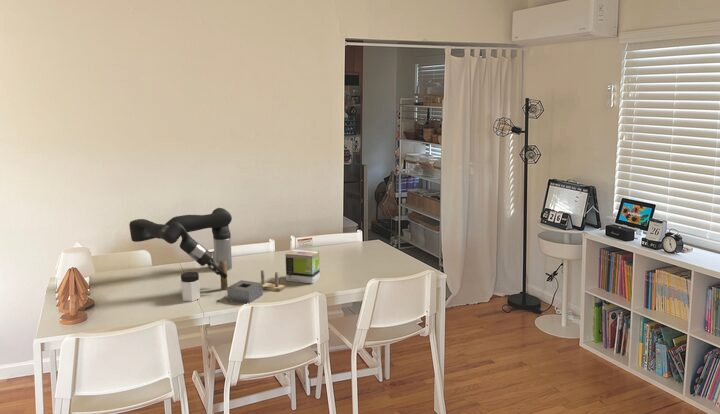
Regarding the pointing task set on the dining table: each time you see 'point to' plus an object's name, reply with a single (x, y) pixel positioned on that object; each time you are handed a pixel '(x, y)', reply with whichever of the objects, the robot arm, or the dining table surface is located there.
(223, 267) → the walnut pin
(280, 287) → the peg rack
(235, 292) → the block
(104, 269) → the dining table surface
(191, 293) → the jar
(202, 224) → the robot arm
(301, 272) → the tea box
